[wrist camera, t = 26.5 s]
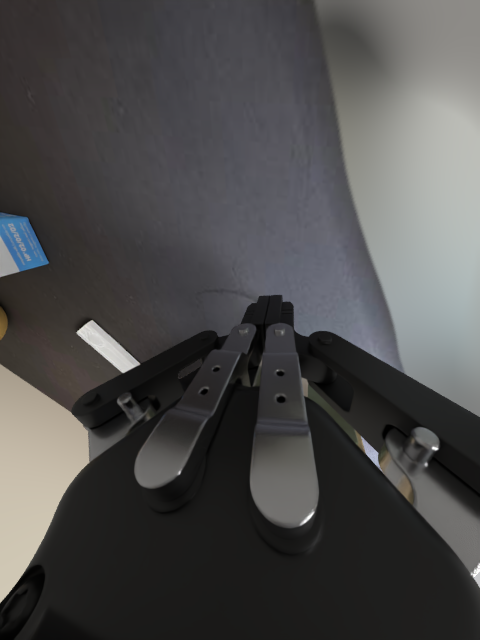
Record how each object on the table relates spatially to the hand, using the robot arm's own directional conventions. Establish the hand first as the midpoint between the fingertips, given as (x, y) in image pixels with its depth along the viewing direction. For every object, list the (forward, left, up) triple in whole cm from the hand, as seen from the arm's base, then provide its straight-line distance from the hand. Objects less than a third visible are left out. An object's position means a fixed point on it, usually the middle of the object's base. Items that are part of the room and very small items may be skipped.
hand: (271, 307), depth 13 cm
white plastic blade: (+18, +18, -5) cm, 26 cm away
